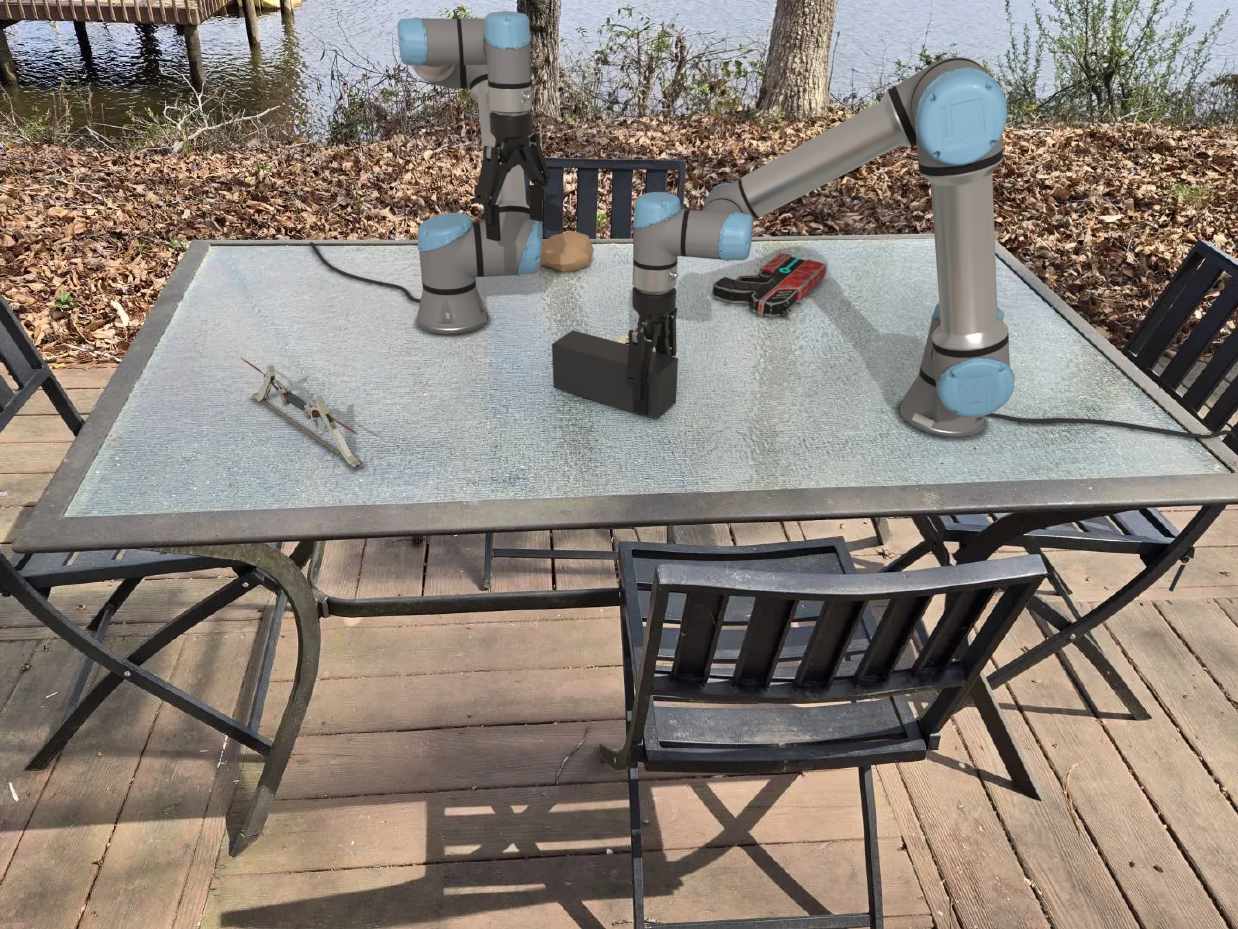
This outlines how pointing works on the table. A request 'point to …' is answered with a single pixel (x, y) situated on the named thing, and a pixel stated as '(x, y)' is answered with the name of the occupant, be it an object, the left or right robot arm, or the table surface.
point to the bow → (305, 411)
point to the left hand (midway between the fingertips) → (515, 229)
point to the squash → (567, 251)
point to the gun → (772, 285)
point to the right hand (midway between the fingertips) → (651, 403)
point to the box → (610, 372)
